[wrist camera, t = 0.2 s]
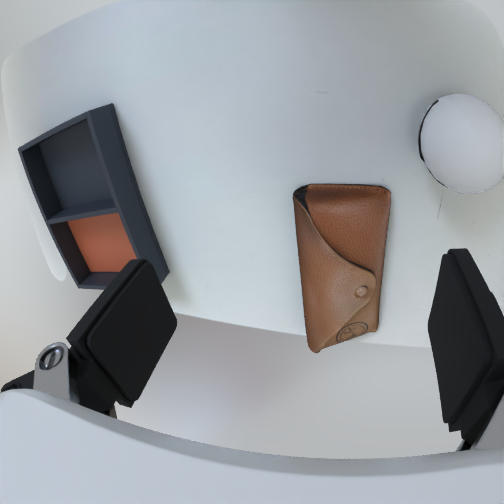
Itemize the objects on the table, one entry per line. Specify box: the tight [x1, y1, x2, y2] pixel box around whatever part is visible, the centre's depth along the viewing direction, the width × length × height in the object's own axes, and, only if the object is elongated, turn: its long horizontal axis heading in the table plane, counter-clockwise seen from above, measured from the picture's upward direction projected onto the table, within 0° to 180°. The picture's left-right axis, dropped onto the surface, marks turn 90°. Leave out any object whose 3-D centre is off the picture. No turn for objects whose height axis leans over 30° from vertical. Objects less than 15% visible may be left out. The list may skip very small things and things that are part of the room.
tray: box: [18, 104, 169, 290], centre depth 30 cm, size 20×13×4 cm, turn 11°
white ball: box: [418, 93, 504, 218], centre depth 18 cm, size 10×7×7 cm
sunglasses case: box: [293, 184, 391, 353], centre depth 28 cm, size 18×7×7 cm, turn 11°
